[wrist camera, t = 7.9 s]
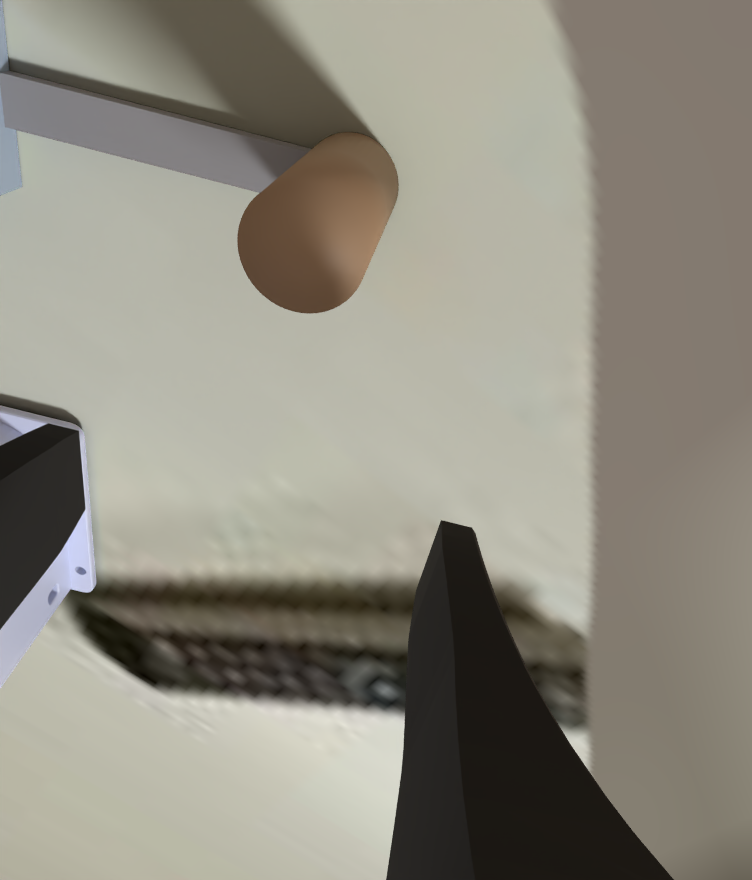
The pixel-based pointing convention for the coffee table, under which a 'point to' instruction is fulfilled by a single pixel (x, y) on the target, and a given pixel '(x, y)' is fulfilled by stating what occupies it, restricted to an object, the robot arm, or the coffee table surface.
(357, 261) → the block with pull
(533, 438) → the coffee table surface
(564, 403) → the coffee table surface
